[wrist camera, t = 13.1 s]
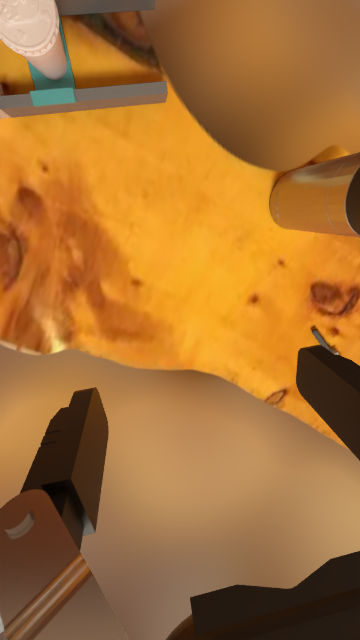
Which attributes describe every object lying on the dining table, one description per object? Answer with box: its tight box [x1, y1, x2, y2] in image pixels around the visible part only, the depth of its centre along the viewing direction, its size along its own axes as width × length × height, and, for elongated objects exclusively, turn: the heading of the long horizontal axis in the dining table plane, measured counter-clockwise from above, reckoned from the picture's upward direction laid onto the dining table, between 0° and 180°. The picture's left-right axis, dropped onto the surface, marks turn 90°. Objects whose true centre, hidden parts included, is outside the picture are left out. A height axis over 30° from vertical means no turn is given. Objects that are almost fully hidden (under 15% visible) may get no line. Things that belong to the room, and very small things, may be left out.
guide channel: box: [0, 0, 167, 119], centre depth 30 cm, size 22×11×6 cm, turn 97°
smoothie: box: [0, 0, 67, 81], centre depth 26 cm, size 6×6×14 cm
